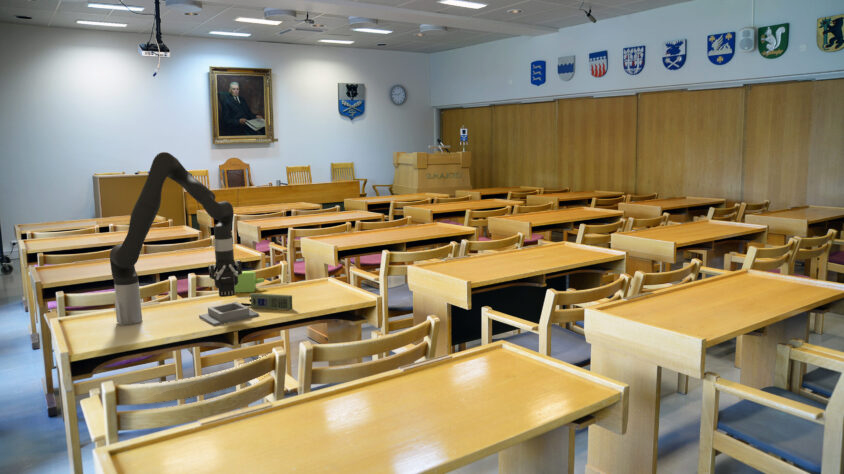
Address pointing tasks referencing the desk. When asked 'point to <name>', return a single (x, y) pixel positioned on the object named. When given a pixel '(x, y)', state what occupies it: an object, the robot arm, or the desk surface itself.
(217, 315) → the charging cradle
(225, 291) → the battery
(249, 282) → the gearbox
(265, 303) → the handheld radio
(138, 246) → the robot arm
